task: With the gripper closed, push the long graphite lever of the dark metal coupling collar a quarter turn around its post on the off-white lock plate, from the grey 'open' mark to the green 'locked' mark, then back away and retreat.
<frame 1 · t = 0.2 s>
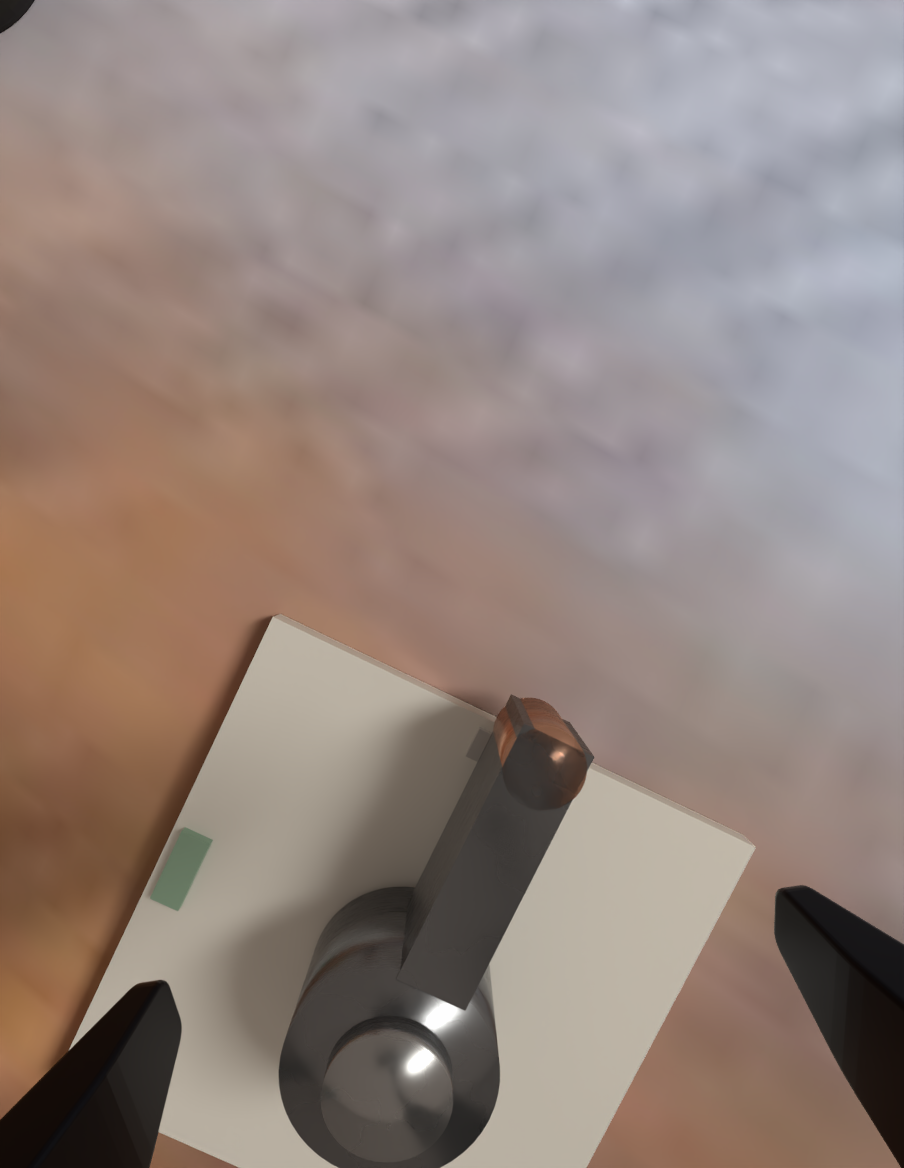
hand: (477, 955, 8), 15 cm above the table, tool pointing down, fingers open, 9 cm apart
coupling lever: (450, 917, 20), point 4 cm above the table, hinge at 0.0°
lock plate: (403, 949, 24), on the table
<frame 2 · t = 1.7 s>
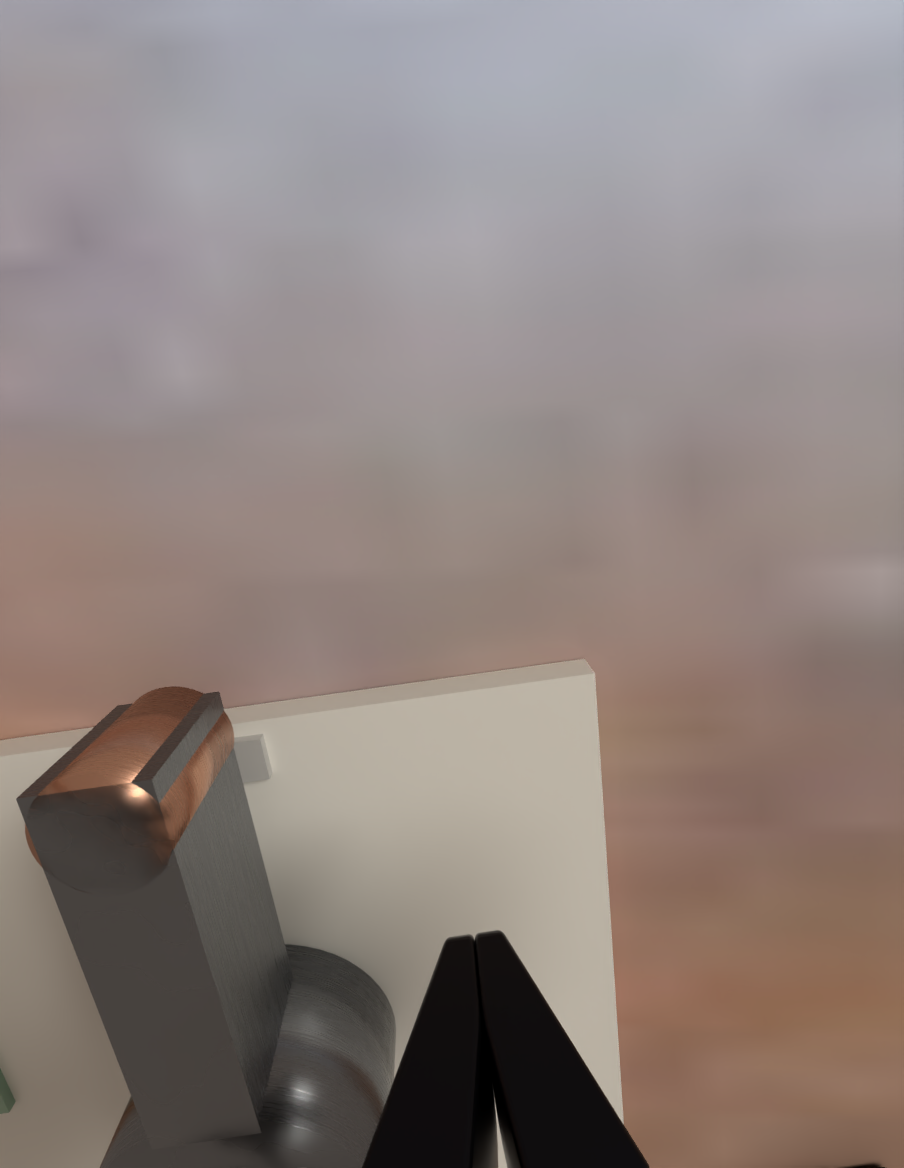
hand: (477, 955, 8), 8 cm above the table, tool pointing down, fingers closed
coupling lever: (220, 1010, 14), point 4 cm above the table, hinge at 0.0°
lock plate: (291, 994, 19), on the table
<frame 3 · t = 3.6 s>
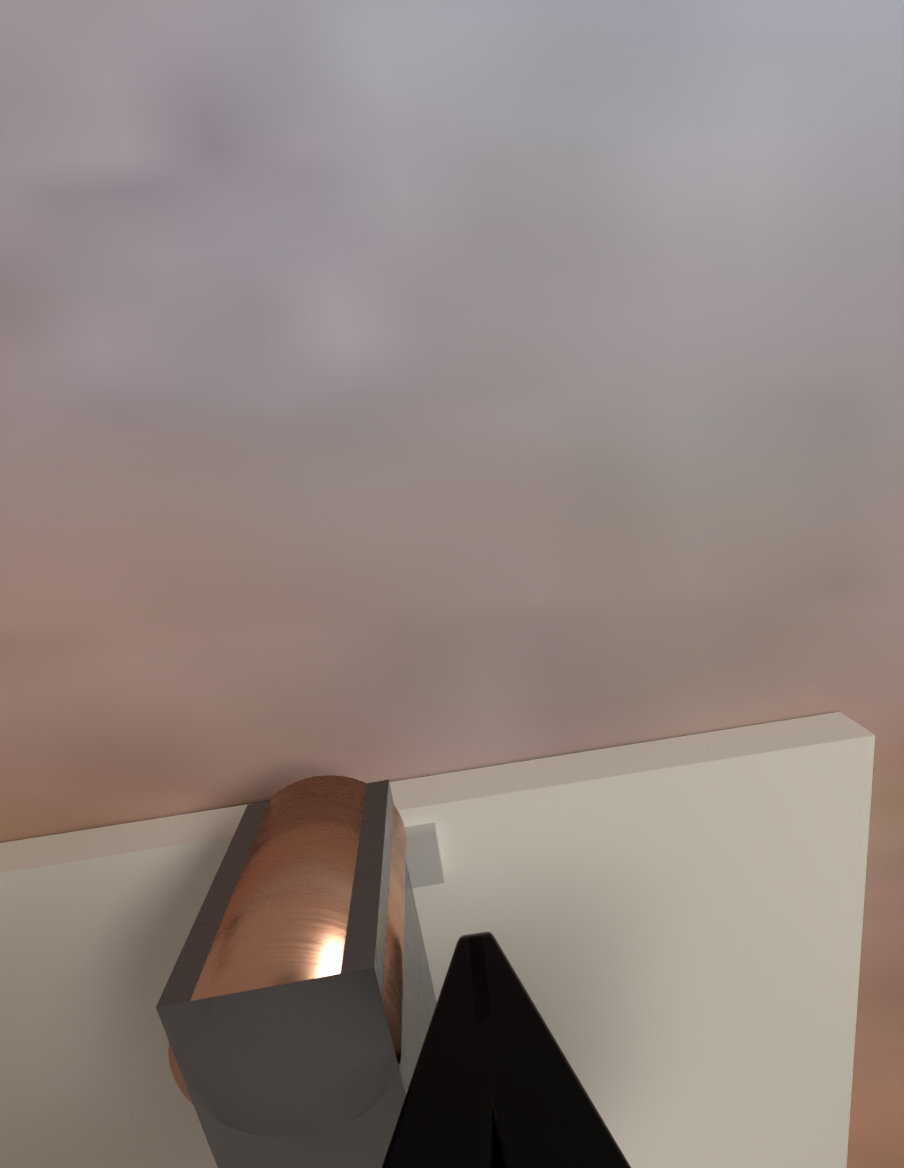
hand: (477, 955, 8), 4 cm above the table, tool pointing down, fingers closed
lock plate: (432, 1132, 15), on the table
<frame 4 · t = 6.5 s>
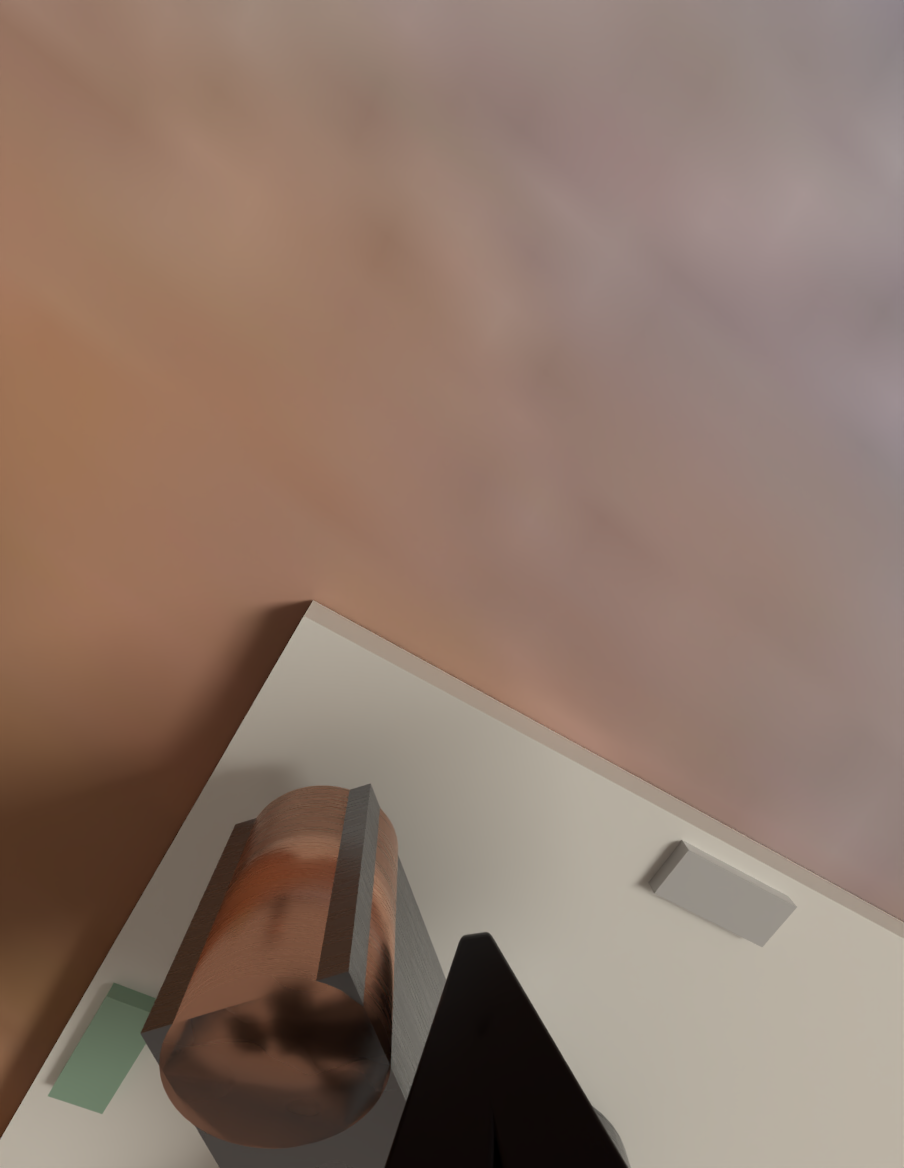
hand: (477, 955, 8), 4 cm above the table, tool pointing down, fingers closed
lock plate: (479, 1126, 15), on the table
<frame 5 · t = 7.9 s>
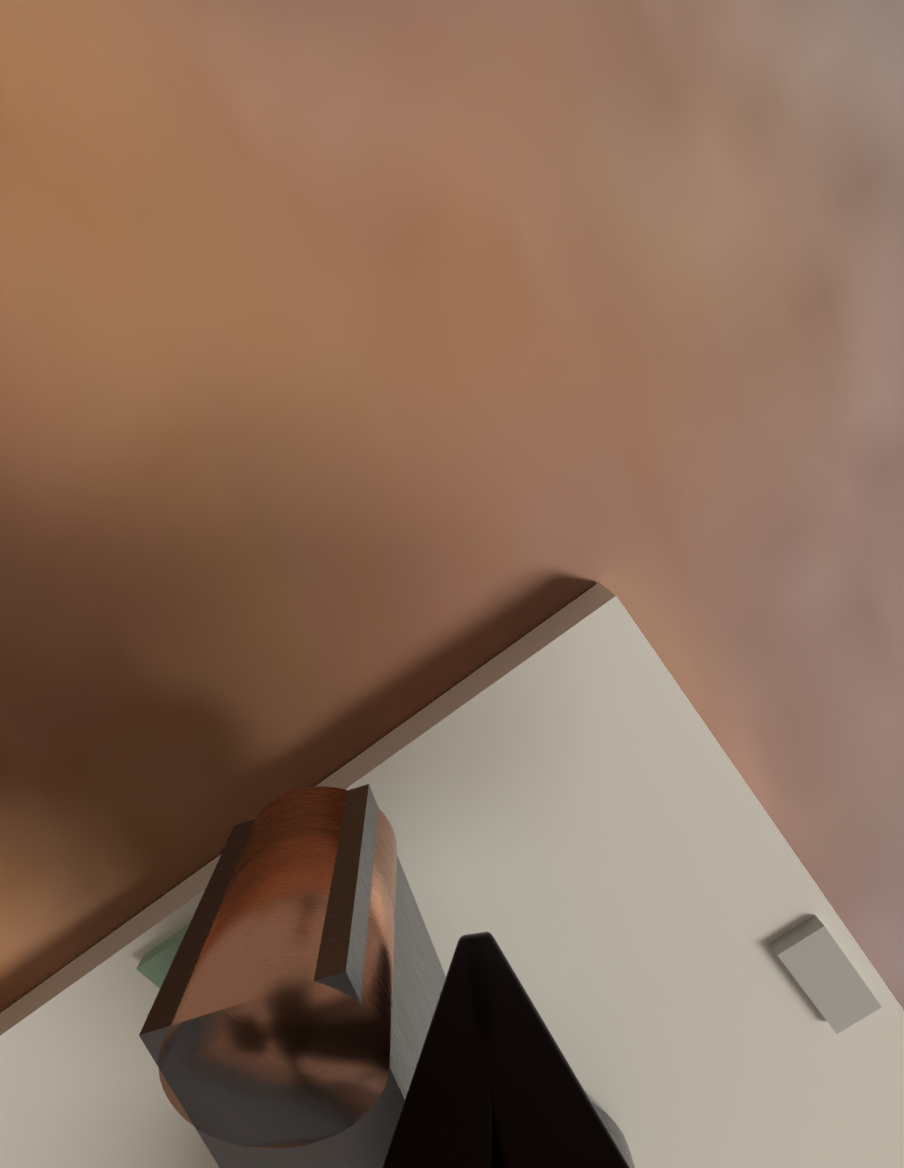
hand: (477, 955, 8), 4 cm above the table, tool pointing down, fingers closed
lock plate: (482, 1126, 15), on the table
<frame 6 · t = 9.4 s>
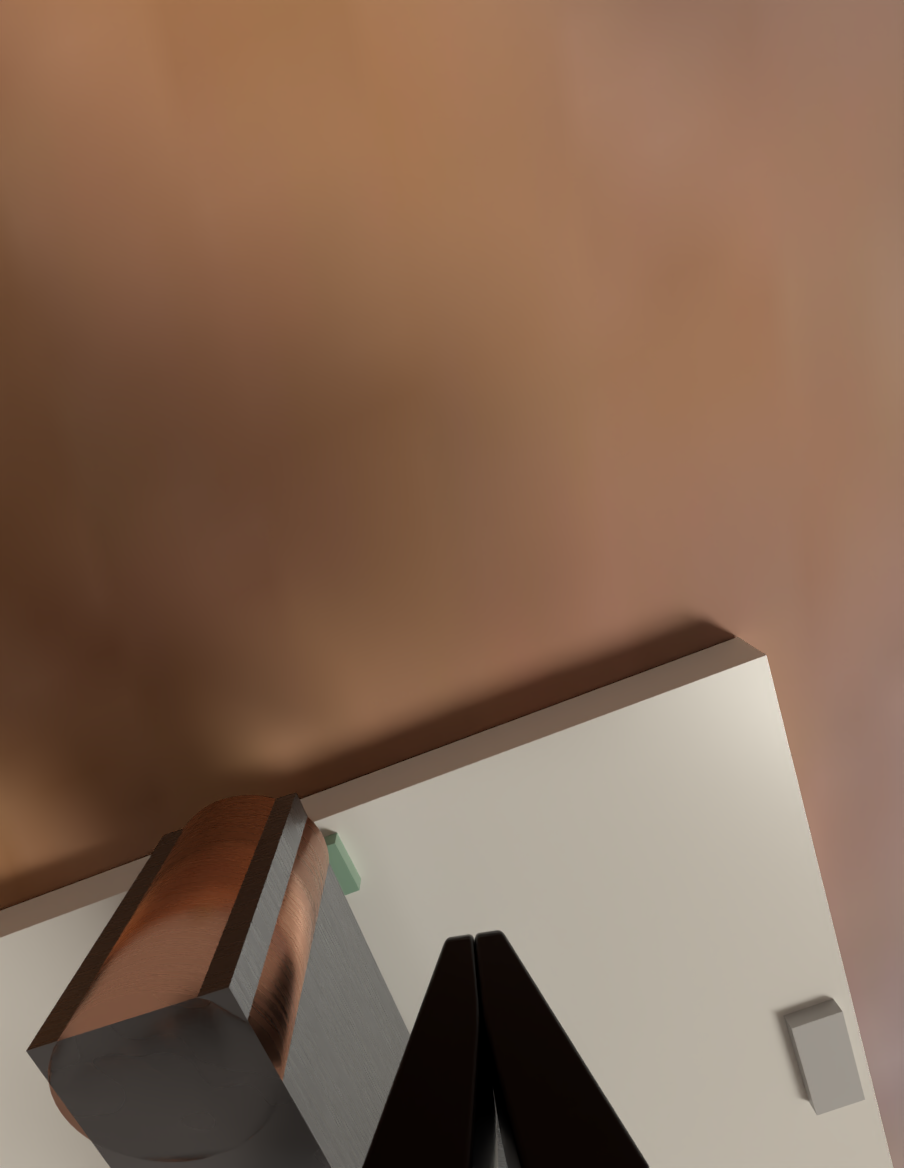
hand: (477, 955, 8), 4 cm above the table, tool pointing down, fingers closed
lock plate: (446, 1128, 15), on the table
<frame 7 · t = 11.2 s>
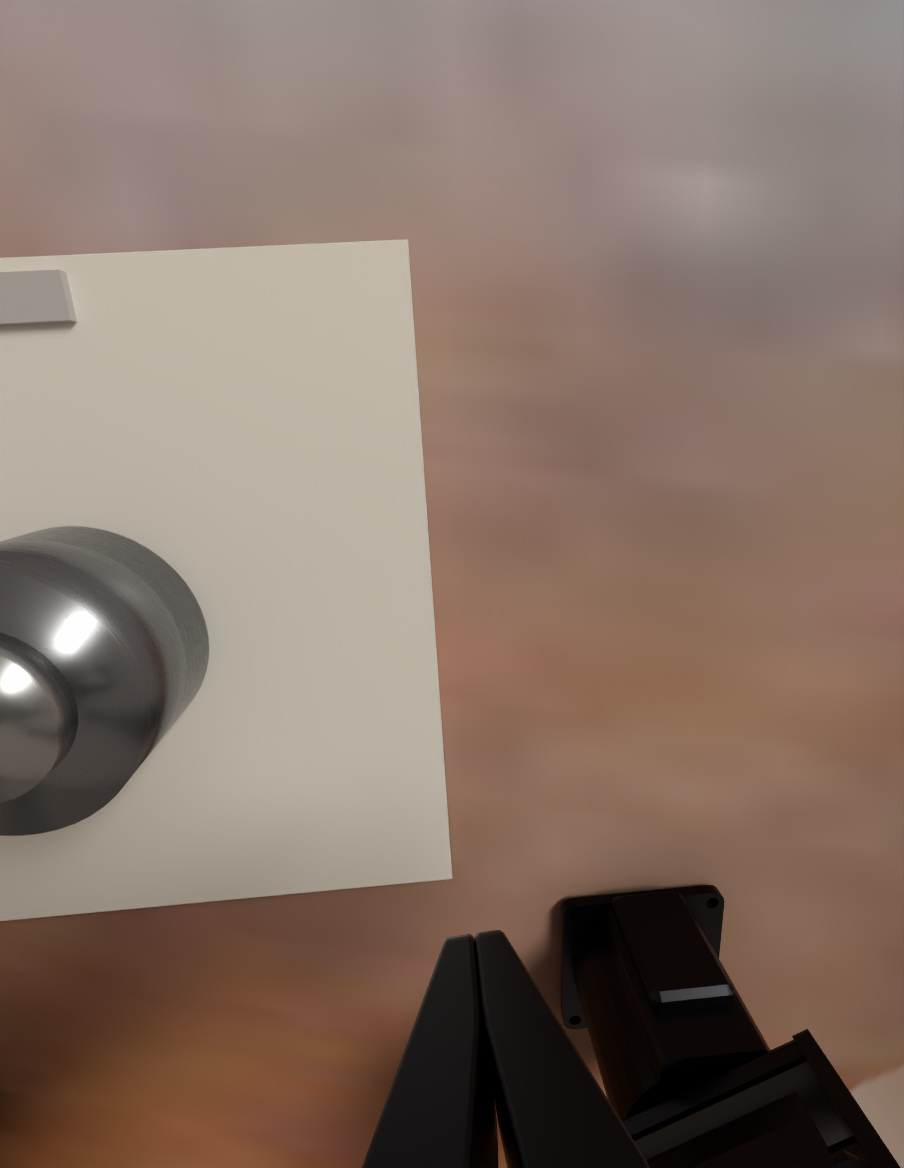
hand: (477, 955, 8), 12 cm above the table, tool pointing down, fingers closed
lock plate: (113, 624, 19), on the table
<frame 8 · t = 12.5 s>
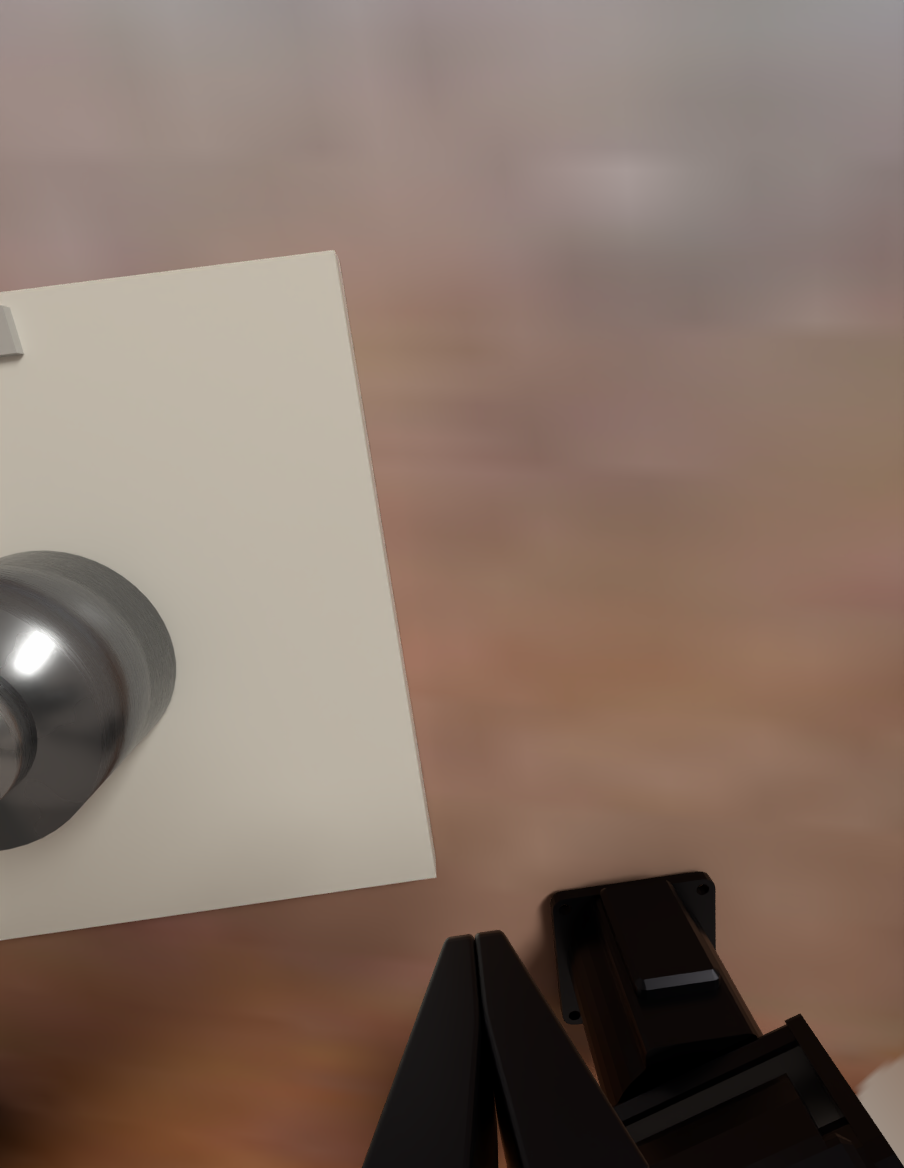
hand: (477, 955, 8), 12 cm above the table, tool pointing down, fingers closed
lock plate: (85, 644, 19), on the table
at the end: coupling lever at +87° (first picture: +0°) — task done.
